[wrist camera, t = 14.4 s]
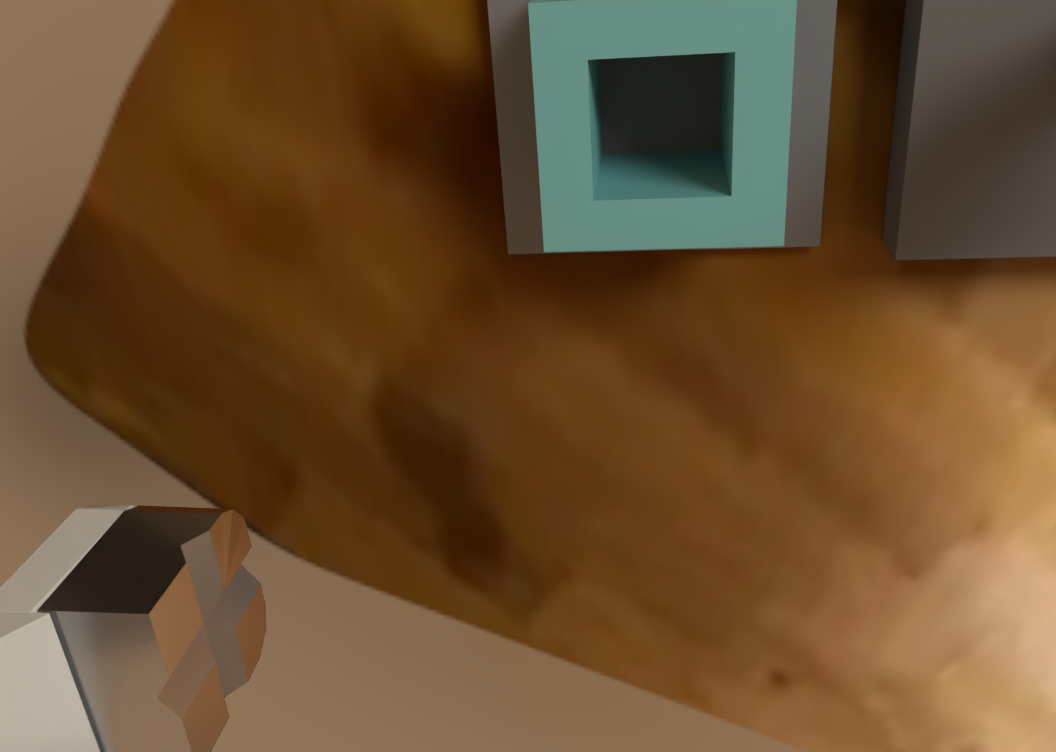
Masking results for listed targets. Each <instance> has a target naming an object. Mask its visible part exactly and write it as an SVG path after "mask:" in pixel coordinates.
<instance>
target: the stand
mask: <svg viewBox="0 0 1056 752" xmlns="http://www.w3.org/2000/svg"><path fill="white" fill-rule="evenodd" d="M882 240H883V241H884V243H885V244H886V246H887V248H888V249H889V251H890V252H891V254H892V256H893V257H894V259H895V260H931V259H974V258H1018V257H1056V0H906V3H905V13H904V23H903V33H902V43H901V53H900V62H899V72H898V82H897V92H896V102H895V112H894V122H893V132H892V142H891V152H890V162H889V172H888V182H887V192H886V202H885V212H884V222H883V231H882Z"/></svg>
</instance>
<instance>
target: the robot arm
mask: <svg viewBox="0 0 1056 752" xmlns="http://www.w3.org/2000/svg"><path fill="white" fill-rule="evenodd" d="M251 547H252V545H251V542H250V538H249V535H248V531H247V528H246V524H245V521H244V518H243V517H242V516H241V515H239V514H238V513H237V512H235V511H234V510H233V509H213V508H187V507H160V506H137V507H135V506H131V505H89V506H86V507H82V508H78V509H76V510H75V511H74V512H73V513H72V514H71V515H70V516H69V517H68V518H67V519H66V520H65V521H64V522H63V524H62V525H61V526H60V527H59V528H58V529H57V530H56V531H55V532H54V533H53V534H52V535H51V536H50V537H49V538H48V539H47V540H46V541H45V542H44V543H43V544H42V545H41V546H40V547H39V548H38V550H37V551H36V552H35V553H34V554H33V555H32V556H31V557H30V558H29V559H28V560H27V561H26V562H25V563H24V564H23V565H22V566H21V567H20V568H19V569H18V570H17V571H16V572H15V573H14V575H12V576H11V577H10V578H9V580H8V581H7V582H6V583H5V584H4V585H3V586H2V587H1V588H0V752H211V751H212V749H213V747H214V745H215V743H216V741H217V739H218V737H219V736H220V734H221V732H222V730H223V728H224V726H225V725H226V723H227V721H228V719H229V713H228V710H227V706H226V702H225V698H224V697H226V696H227V695H229V694H230V693H231V692H233V691H234V690H236V689H237V688H239V687H240V686H242V685H243V684H245V683H246V682H248V681H249V679H250V677H251V675H252V673H253V671H254V669H255V667H256V665H257V663H258V661H259V658H260V656H261V651H262V646H263V641H264V636H265V632H266V605H265V600H264V596H263V591H262V587H261V584H260V582H258V580H257V579H256V578H255V577H253V576H252V575H251V574H250V573H249V572H248V571H247V570H246V569H245V568H244V567H243V566H242V565H241V564H242V562H243V560H244V559H245V557H246V555H247V553H248V552H249V550H250V548H251Z"/></svg>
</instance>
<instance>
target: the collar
mask: <svg viewBox="0 0 1056 752" xmlns="http://www.w3.org/2000/svg"><path fill="white" fill-rule="evenodd" d="M796 11H797V0H531V1H530V2H529V3H528V12H529V27H530V43H531V58H532V74H533V89H534V105H535V120H536V136H537V151H538V167H539V182H540V198H541V213H542V229H543V244H544V252H570V251H609V250H649V249H688V248H727V247H766V246H784V237H785V218H786V199H787V180H788V161H789V142H790V124H791V105H792V86H793V67H794V48H795V29H796ZM708 53H722V90H721V138H720V149H713V150H688V151H662V152H637V153H611V154H603V152H602V123H601V94H600V65H599V59H613V58H632V57H651V56H670V55H689V54H708Z"/></svg>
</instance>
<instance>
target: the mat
mask: <svg viewBox="0 0 1056 752" xmlns="http://www.w3.org/2000/svg"><path fill="white" fill-rule="evenodd" d="M530 1H531V0H487V5H488V17H489V29H490V41H491V53H492V65H493V77H494V90H495V102H496V114H497V126H498V138H499V150H500V163H501V175H502V187H503V199H504V211H505V223H506V235H507V248H508V254H544V253H583V252H623V251H663V250H702V249H742V248H781V247H820V239H821V225H822V211H823V197H824V182H825V168H826V154H827V140H828V126H829V112H830V98H831V83H832V69H833V55H834V41H835V27H836V13H837V0H797V11H796V29H795V48H794V67H793V86H792V105H791V124H790V142H789V161H788V180H787V199H786V218H785V237H784V246H766V247H727V248H688V249H649V250H609V251H570V252H544V244H543V229H542V213H541V198H540V182H539V167H538V151H537V136H536V120H535V105H534V89H533V74H532V58H531V43H530V27H529V12H528V3H529V2H530ZM599 65H600V94H601V123H602V152H603V154H611V153H637V152H662V151H688V150H713V149H720V138H721V90H722V53H708V54H689V55H670V56H651V57H632V58H613V59H599Z"/></svg>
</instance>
